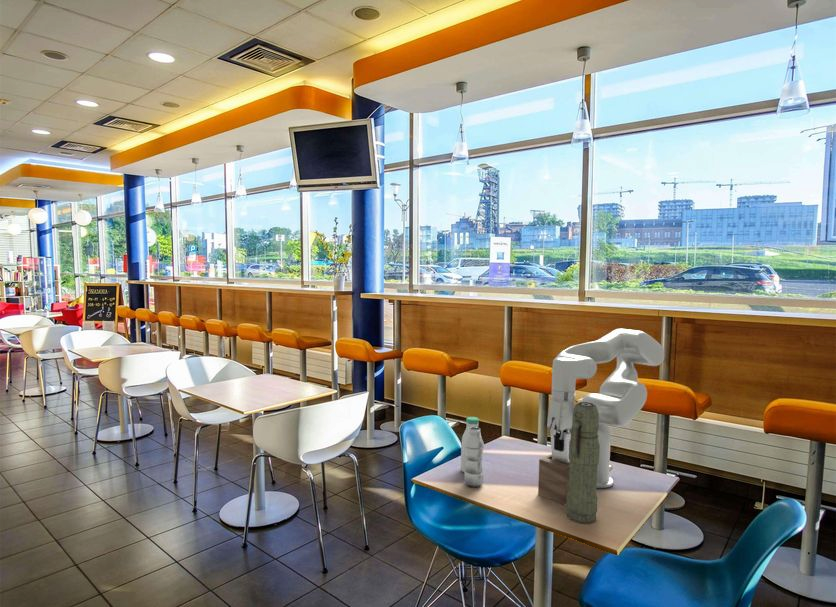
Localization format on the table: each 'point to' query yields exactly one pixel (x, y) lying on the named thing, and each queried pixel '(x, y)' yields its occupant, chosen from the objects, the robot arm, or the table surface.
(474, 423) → the milk bottle
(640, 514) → the table surface
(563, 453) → the white block
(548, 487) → the slotted wooden block
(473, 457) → the plastic bottle
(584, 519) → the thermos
